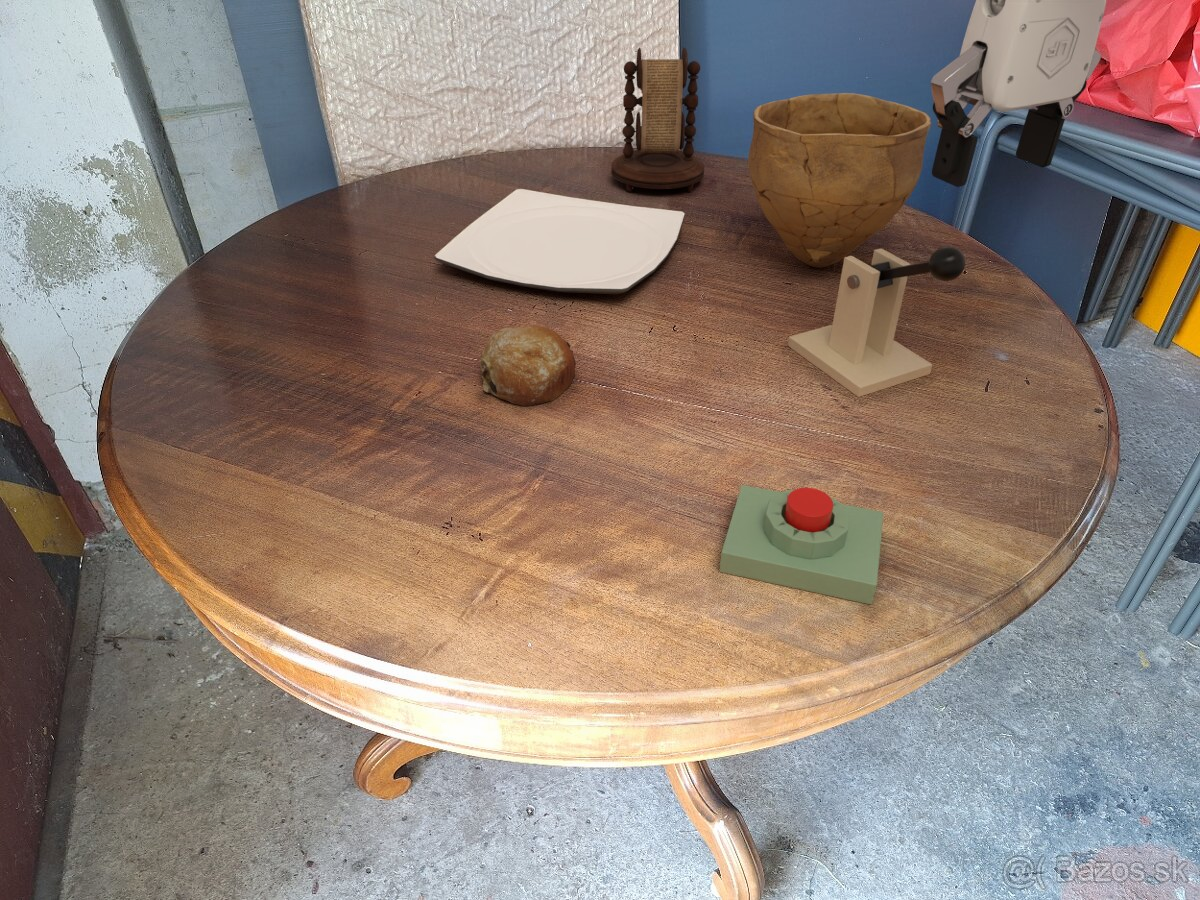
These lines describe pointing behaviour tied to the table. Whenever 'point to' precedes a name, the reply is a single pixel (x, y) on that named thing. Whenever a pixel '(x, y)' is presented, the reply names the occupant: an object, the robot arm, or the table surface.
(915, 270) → the black ball knob lever
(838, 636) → the table surface
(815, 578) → the button block
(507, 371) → the bread roll
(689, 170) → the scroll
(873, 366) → the lever bracket
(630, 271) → the plate
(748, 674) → the table surface
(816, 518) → the button
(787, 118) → the bowl
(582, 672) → the table surface
